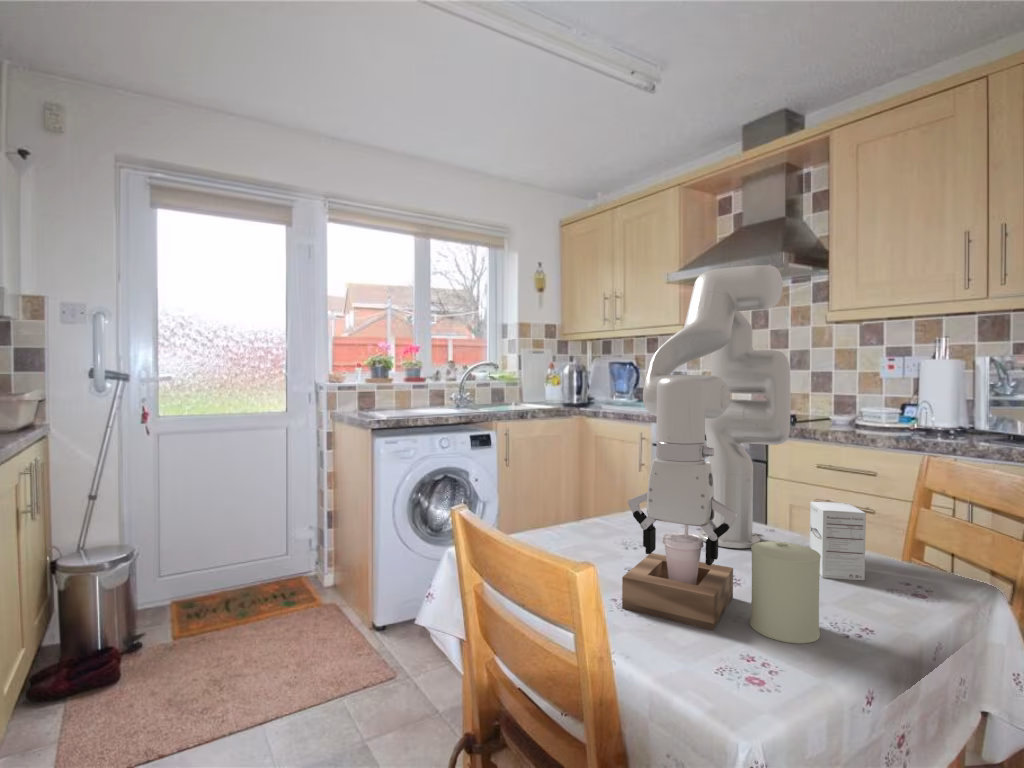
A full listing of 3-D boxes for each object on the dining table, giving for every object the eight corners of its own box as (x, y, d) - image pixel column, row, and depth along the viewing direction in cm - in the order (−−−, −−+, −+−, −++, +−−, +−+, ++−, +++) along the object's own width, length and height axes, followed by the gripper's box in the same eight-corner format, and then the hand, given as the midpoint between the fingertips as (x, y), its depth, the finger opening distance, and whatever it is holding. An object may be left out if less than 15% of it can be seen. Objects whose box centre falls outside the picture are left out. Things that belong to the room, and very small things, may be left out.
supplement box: (808, 564, 108) (809, 500, 108) (849, 567, 106) (850, 502, 106) (821, 578, 101) (822, 509, 100) (866, 581, 99) (867, 511, 99)
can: (809, 618, 84) (810, 540, 84) (829, 647, 75) (830, 560, 75) (744, 612, 86) (745, 536, 86) (756, 639, 77) (757, 555, 77)
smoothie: (706, 606, 86) (707, 517, 86) (664, 603, 87) (665, 515, 87) (699, 590, 92) (700, 507, 92) (659, 587, 93) (660, 505, 93)
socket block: (650, 580, 99) (651, 552, 99) (732, 597, 92) (733, 567, 92) (622, 608, 87) (622, 576, 87) (713, 630, 80) (714, 596, 80)
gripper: (741, 454, 88) (740, 560, 88) (636, 446, 97) (636, 542, 97) (732, 460, 81) (730, 575, 82) (621, 451, 91) (620, 554, 91)
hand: (679, 557), depth 90 cm, fingers open, 9 cm apart
